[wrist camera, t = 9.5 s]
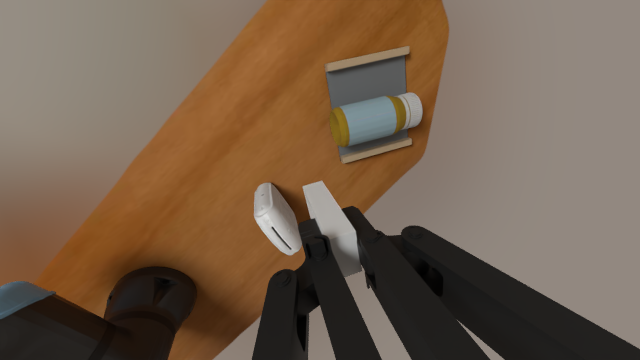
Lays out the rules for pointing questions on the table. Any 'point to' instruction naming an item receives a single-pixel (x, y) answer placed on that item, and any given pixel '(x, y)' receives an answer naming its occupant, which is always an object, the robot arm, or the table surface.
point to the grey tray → (368, 93)
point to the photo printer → (276, 219)
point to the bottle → (374, 118)
